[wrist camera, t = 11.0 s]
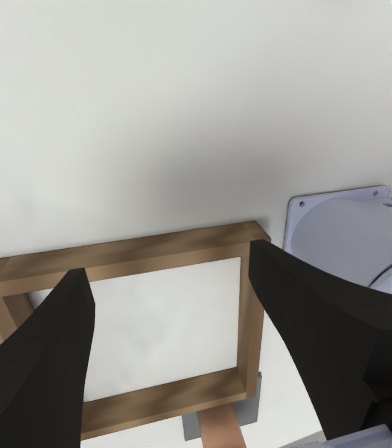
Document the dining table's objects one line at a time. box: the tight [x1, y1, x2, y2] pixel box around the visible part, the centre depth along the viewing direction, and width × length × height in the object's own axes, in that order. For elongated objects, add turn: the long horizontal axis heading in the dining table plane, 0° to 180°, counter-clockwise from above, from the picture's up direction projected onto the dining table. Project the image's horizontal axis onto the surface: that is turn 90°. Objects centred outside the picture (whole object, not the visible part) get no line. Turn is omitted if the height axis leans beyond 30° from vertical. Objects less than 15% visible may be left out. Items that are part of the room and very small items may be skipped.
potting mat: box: [182, 372, 262, 441], centre depth 36 cm, size 10×10×1 cm
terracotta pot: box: [196, 402, 246, 448], centre depth 32 cm, size 5×5×7 cm
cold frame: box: [0, 221, 271, 441], centre depth 25 cm, size 30×20×3 cm
